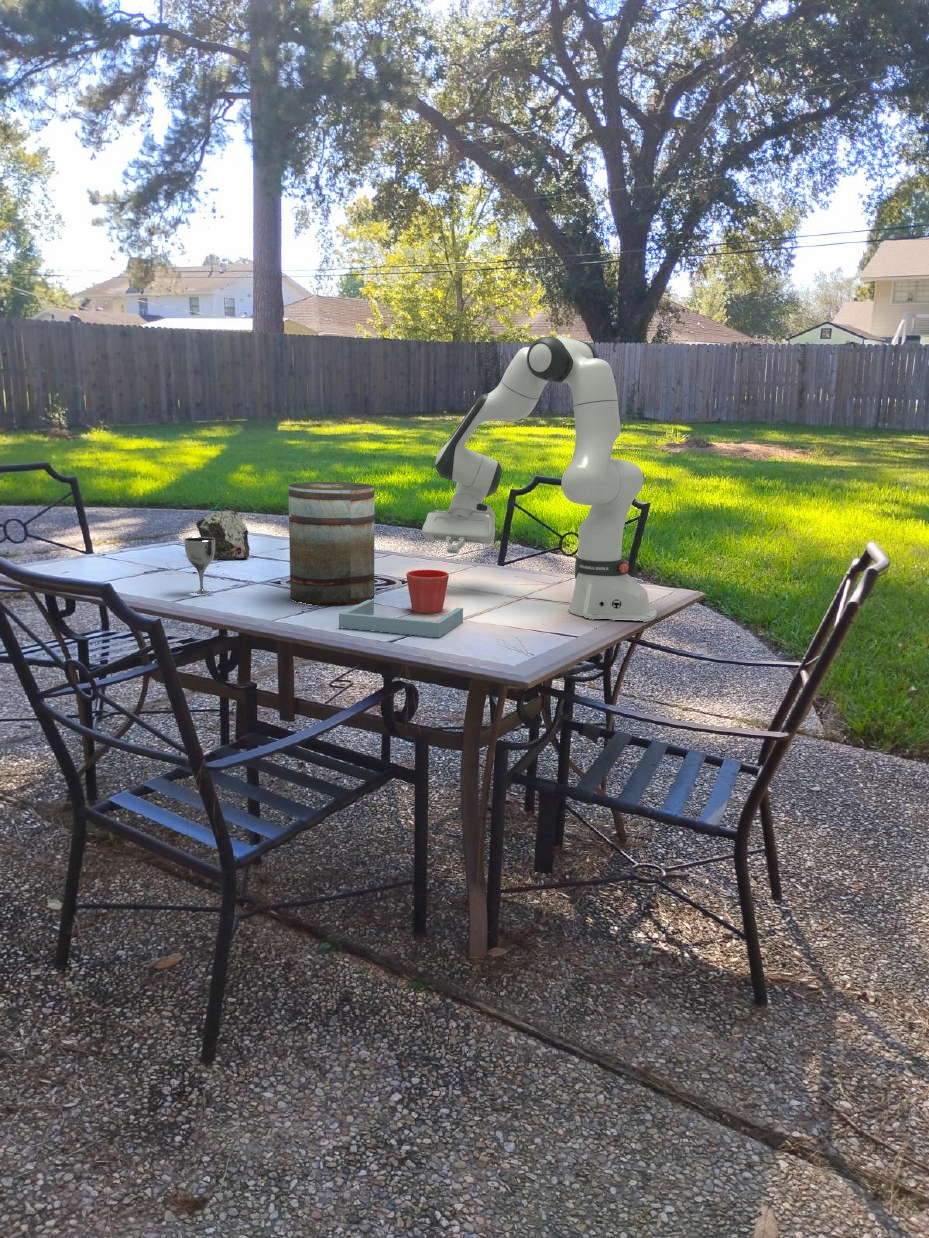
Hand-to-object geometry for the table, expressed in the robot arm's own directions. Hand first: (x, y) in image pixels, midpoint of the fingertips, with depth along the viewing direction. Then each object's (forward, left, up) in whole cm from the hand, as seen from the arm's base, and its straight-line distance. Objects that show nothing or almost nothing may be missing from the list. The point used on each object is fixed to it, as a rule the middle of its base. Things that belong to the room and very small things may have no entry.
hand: (452, 552), depth 272 cm
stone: (+89, -31, -12) cm, 96 cm away
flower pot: (0, +20, -12) cm, 23 cm away
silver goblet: (+63, +25, -12) cm, 69 cm away
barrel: (+29, +15, -12) cm, 35 cm away
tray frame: (0, +37, -12) cm, 39 cm away
